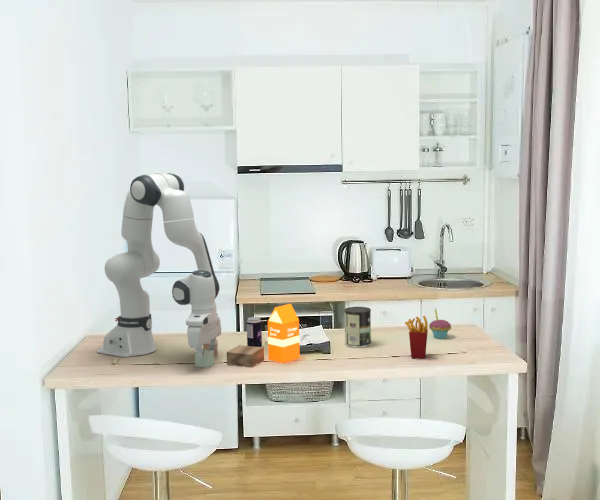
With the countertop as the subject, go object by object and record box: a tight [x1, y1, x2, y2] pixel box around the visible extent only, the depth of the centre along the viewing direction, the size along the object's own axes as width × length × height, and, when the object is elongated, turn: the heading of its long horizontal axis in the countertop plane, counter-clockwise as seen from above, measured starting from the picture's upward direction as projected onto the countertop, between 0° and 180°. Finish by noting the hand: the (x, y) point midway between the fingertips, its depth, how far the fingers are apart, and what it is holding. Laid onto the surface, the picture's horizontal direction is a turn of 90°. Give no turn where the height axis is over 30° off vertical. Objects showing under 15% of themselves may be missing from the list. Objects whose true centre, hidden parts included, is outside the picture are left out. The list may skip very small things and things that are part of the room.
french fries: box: [404, 315, 429, 360], centre depth 280 cm, size 9×8×15 cm
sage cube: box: [194, 349, 215, 368], centre depth 275 cm, size 5×5×5 cm
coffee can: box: [344, 306, 372, 349], centre depth 298 cm, size 10×10×14 cm
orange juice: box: [267, 303, 301, 364], centre depth 280 cm, size 8×9×20 cm
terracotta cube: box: [202, 339, 219, 357], centre depth 289 cm, size 5×5×5 cm
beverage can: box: [246, 316, 263, 347], centre depth 295 cm, size 6×6×12 cm
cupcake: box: [428, 308, 452, 340], centre depth 306 cm, size 9×8×12 cm
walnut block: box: [226, 344, 265, 368], centre depth 278 cm, size 10×10×5 cm
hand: (206, 353), depth 275 cm, fingers open, 8 cm apart
